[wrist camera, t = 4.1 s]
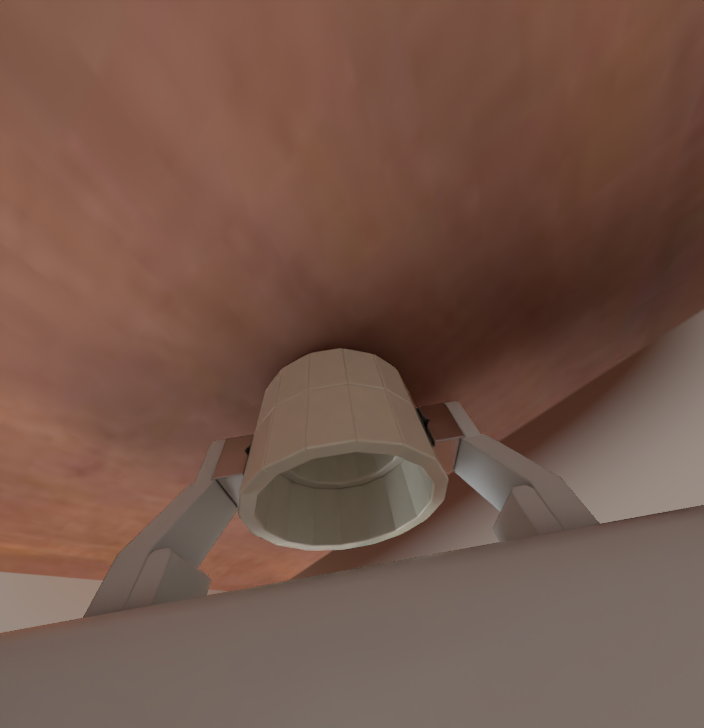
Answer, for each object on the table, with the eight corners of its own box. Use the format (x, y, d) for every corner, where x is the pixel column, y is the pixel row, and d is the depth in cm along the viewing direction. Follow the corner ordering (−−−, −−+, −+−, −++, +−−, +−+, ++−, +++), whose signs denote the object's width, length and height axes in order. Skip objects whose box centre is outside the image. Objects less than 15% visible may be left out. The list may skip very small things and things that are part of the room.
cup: (404, 330, 9) (461, 422, 6) (403, 433, 13) (438, 533, 9) (244, 355, 9) (196, 467, 5) (286, 452, 13) (274, 562, 9)
